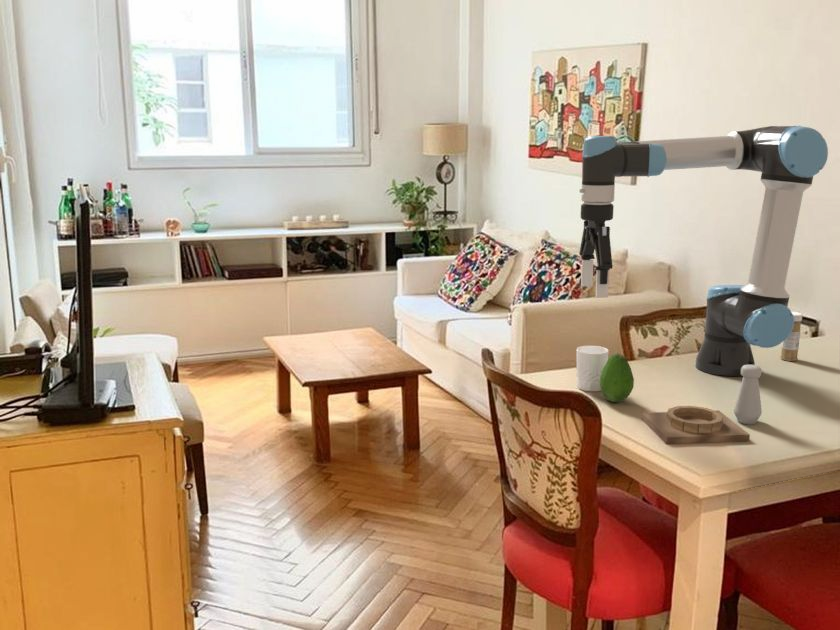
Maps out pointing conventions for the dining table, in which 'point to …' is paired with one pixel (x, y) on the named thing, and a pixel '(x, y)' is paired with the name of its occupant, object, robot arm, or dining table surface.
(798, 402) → the dining table surface
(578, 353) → the white cup
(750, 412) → the salt shaker
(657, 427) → the cruet board
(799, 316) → the sprinkles bottle
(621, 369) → the avocado
